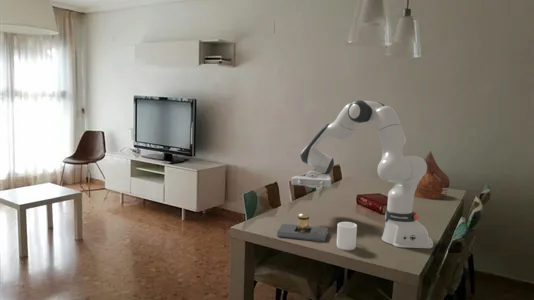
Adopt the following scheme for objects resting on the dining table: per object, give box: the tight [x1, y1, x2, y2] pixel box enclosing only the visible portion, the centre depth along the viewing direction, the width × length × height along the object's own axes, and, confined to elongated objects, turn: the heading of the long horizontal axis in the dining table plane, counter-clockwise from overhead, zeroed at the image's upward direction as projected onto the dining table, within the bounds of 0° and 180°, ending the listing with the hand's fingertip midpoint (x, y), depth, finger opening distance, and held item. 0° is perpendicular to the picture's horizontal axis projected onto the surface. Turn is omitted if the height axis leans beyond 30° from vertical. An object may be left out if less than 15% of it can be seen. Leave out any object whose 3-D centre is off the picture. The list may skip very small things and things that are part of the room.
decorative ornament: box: [414, 151, 450, 200], centre depth 286 cm, size 26×19×30 cm
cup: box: [336, 221, 358, 251], centre depth 192 cm, size 8×12×10 cm
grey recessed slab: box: [276, 223, 329, 242], centre depth 205 cm, size 22×12×2 cm, turn 76°
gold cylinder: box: [297, 212, 310, 233], centre depth 204 cm, size 5×5×10 cm
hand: (309, 184), depth 216 cm, fingers open, 8 cm apart
